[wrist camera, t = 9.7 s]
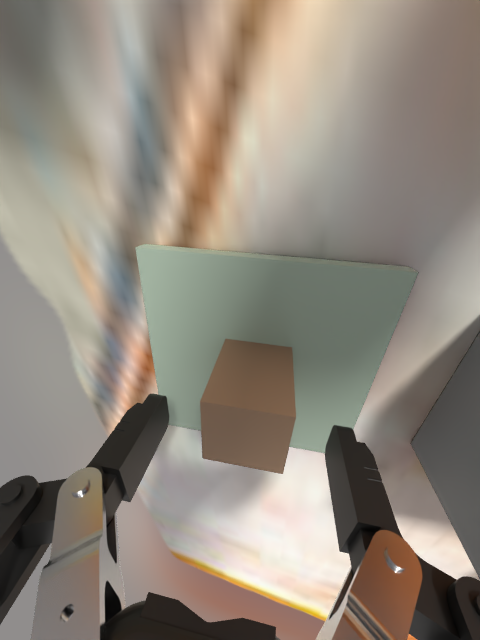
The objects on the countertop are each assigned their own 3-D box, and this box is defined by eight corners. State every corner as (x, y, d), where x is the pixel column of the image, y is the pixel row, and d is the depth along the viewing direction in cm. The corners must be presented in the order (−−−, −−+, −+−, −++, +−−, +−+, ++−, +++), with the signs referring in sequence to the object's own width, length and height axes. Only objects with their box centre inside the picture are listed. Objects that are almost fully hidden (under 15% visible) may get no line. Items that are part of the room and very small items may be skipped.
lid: (150, 242, 14) (56, 275, 8) (403, 263, 12) (508, 323, 7) (171, 408, 21) (127, 491, 15) (337, 436, 19) (361, 542, 13)
